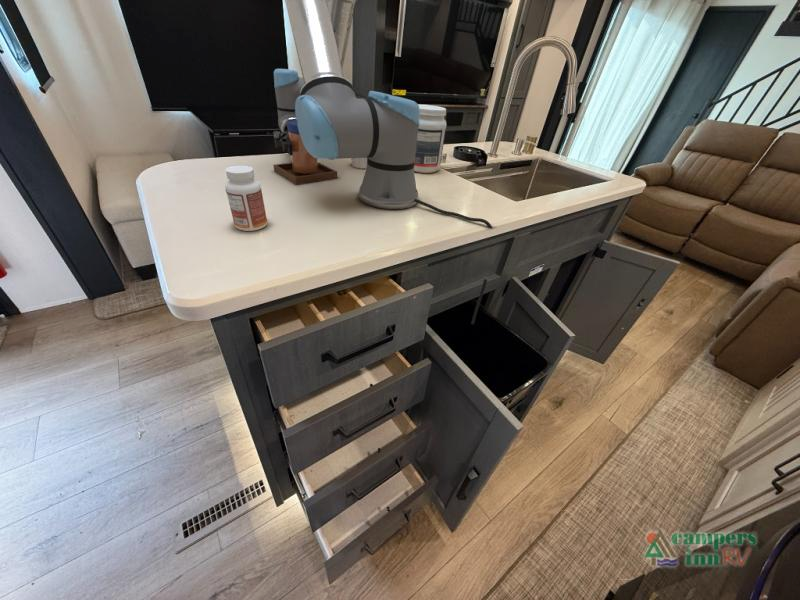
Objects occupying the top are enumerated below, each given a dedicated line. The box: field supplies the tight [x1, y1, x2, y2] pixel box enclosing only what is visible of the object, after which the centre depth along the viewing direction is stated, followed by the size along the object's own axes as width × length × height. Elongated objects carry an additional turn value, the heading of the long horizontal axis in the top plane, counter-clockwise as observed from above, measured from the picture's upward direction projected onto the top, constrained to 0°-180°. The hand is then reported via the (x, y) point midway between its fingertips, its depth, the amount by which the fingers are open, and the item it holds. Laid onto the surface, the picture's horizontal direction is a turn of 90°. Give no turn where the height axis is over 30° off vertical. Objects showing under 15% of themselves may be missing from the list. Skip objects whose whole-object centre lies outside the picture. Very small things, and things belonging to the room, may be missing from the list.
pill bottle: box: [224, 165, 268, 232], centre depth 62 cm, size 6×6×11 cm
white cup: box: [350, 158, 367, 170], centre depth 104 cm, size 8×8×10 cm
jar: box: [288, 131, 319, 173], centre depth 90 cm, size 7×7×12 cm
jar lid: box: [287, 120, 299, 133], centre depth 87 cm, size 8×8×2 cm
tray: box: [273, 161, 339, 186], centre depth 94 cm, size 13×13×2 cm
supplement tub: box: [414, 103, 447, 174], centre depth 105 cm, size 13×13×18 cm
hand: (306, 149), depth 86 cm, fingers closed on jar, 7 cm apart
